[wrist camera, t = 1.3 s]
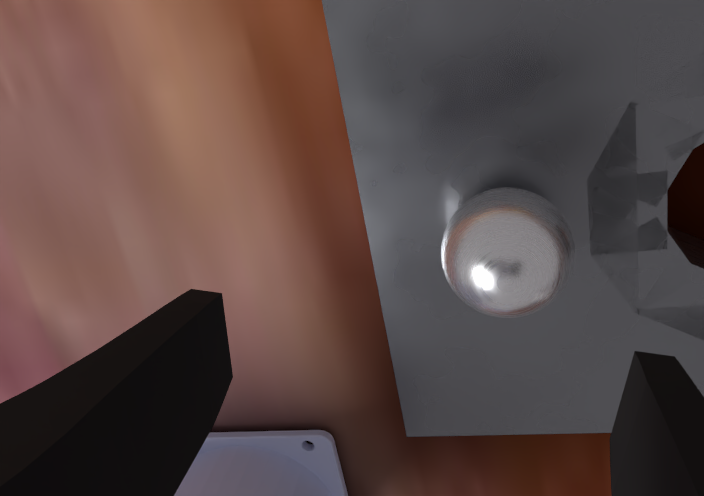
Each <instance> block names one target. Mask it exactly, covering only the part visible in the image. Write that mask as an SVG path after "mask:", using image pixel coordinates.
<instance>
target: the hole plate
mask: <svg viewBox="0 0 704 496" xmlns="http://www.w3.org/2000/svg"><path fill="white" fill-rule="evenodd" d="M322 4H323V9H324V14H325V19H326V24H327V29H328V34H329V40H330V45H331V50H332V55H333V60H334V65H335V70H336V76H337V81H338V86H339V91H340V96H341V101H342V106H343V112H344V117H345V122H346V127H347V132H348V137H349V142H350V148H351V153H352V158H353V163H354V168H355V173H356V178H357V183H358V189H359V194H360V199H361V204H362V209H363V214H364V219H365V225H366V230H367V235H368V240H369V245H370V250H371V255H372V261H373V266H374V271H375V276H376V281H377V286H378V291H379V297H380V302H381V307H382V312H383V317H384V322H385V327H386V333H387V338H388V343H389V348H390V353H391V358H392V363H393V369H394V374H395V379H396V384H397V389H398V394H399V399H400V404H401V410H402V415H403V420H404V425H405V430H406V435H407V437H422V436H472V435H521V434H571V433H612V429H613V426H614V422H615V418H616V415H617V411H618V408H619V404H620V401H621V397H622V394H623V390H624V387H625V383H626V380H627V376H628V373H629V369H630V366H631V362H632V359H633V355H634V352H635V351H639V352H647V353H654V354H661V355H668V356H675V357H676V359H677V360H678V361H679V363H680V364H681V365H682V367H683V368H684V369H685V371H686V372H687V374H688V375H689V377H690V378H691V379H692V381H693V382H694V384H695V385H696V386H697V388H698V389H699V391H700V392H701V394H702V395H703V396H704V240H701V239H699V238H696V237H694V236H691V235H689V234H686V233H684V232H681V231H679V230H676V229H674V228H671V227H669V225H668V224H667V190H668V188H669V187H670V185H671V183H672V182H673V180H674V179H675V177H676V176H677V174H678V172H679V171H680V169H681V168H682V166H683V164H684V163H685V161H686V160H687V158H688V156H689V155H690V153H691V152H692V150H693V149H694V148H696V147H698V146H699V145H701V144H702V143H704V0H322ZM504 187H511V188H520V189H525V190H528V191H531V192H534V193H536V194H538V195H540V196H542V197H544V198H545V199H547V200H548V201H549V202H551V203H552V204H553V205H554V206H555V207H556V208H557V209H558V210H559V211H560V212H561V214H562V215H563V216H564V218H565V219H566V221H567V223H568V225H569V227H570V230H571V232H572V236H573V239H574V247H575V260H574V265H573V270H572V273H571V276H570V278H569V280H568V282H567V284H566V286H565V287H564V289H563V290H562V292H561V293H560V294H559V295H558V297H557V298H556V299H555V300H553V301H552V302H551V303H550V304H549V305H547V306H546V307H544V308H543V309H541V310H539V311H537V312H535V313H532V314H529V315H526V316H522V317H516V318H500V317H494V316H489V315H487V314H484V313H481V312H479V311H477V310H475V309H473V308H472V307H470V306H469V305H467V304H466V303H465V302H463V301H462V300H461V299H460V298H459V297H458V296H457V295H456V293H455V292H454V291H453V289H452V288H451V286H450V285H449V283H448V281H447V279H446V276H445V274H444V271H443V267H442V262H441V243H442V238H443V234H444V232H445V229H446V226H447V224H448V222H449V221H450V219H451V217H452V216H453V215H454V213H455V212H456V211H457V209H458V208H459V207H460V206H461V205H462V204H464V203H465V202H466V201H467V200H469V199H470V198H472V197H474V196H475V195H477V194H480V193H482V192H484V191H488V190H491V189H496V188H504Z"/></svg>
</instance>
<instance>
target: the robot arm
mask: <svg viewBox="0 0 704 496" xmlns="http://www.w3.org/2000/svg"><path fill="white" fill-rule="evenodd" d="M232 378H233V374H232V367H231V359H230V352H229V344H228V336H227V329H226V321H225V314H224V306H223V299H222V293H216V292H209V291H202V290H195V289H191V290H189V291H187V292H186V293H184V294H182V295H181V296H179V297H177V298H176V299H174V300H173V301H171V302H170V303H168V304H167V305H165V306H163V307H162V308H160V309H159V310H157V311H156V312H154V313H153V314H151V315H150V316H148V317H147V318H145V319H144V320H142V321H141V322H139V323H138V324H136V325H135V326H133V327H132V328H130V329H129V330H127V331H126V332H124V333H122V334H121V335H119V336H118V337H116V338H115V339H113V340H112V341H110V342H109V343H107V344H106V345H104V346H102V347H101V348H99V349H98V350H96V351H94V352H93V353H91V354H89V355H88V356H86V357H84V358H83V359H81V360H79V361H77V362H76V363H74V364H72V365H71V366H69V367H67V368H66V369H64V370H62V371H61V372H59V373H57V374H56V375H54V376H52V377H50V378H49V379H47V380H45V381H43V382H42V383H40V384H38V385H36V386H34V387H32V388H30V389H28V390H27V391H25V392H23V393H21V394H19V395H17V396H15V397H13V398H11V399H9V400H7V401H5V402H3V403H1V404H0V496H348V493H347V489H346V485H345V481H344V477H343V473H342V469H341V465H340V461H339V457H338V453H337V449H336V445H335V441H334V438H333V436H332V435H331V434H330V433H329V432H326V431H324V430H295V431H253V432H210V431H211V429H212V427H213V425H214V423H215V420H216V418H217V416H218V413H219V411H220V408H221V406H222V404H223V401H224V398H225V396H226V393H227V391H228V388H229V385H230V383H231V380H232ZM209 432H210V433H209ZM305 441H310V442H312V443H313V444H308V443H307V442H305ZM610 467H611V490H612V496H704V396H703V395H702V394H701V392H700V391H699V389H698V388H697V386H696V385H695V384H694V382H693V381H692V379H691V378H690V377H689V375H688V374H687V372H686V371H685V369H684V368H683V367H682V365H681V364H680V363H679V361H678V360H677V359H676V357H675V356H668V355H661V354H654V353H647V352H639V351H635V352H634V355H633V359H632V362H631V366H630V369H629V373H628V376H627V380H626V383H625V387H624V390H623V394H622V397H621V401H620V404H619V408H618V411H617V415H616V418H615V422H614V426H613V429H612V433H611V436H610Z"/></svg>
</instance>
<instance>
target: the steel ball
mask: <svg viewBox="0 0 704 496" xmlns="http://www.w3.org/2000/svg"><path fill="white" fill-rule="evenodd" d="M574 260H575V247H574V239H573V236H572V232H571V230H570V227H569V225H568V223H567V221H566V219H565V218H564V216H563V215H562V214H561V212H560V211H559V210H558V209H557V208H556V207H555V206H554V205H553V204H552V203H551V202H549V201H548V200H547V199H545V198H544V197H542V196H540V195H538V194H536V193H534V192H531V191H528V190H525V189H520V188H511V187H504V188H496V189H491V190H488V191H484V192H482V193H480V194H477V195H475V196H474V197H472V198H470V199H469V200H467V201H466V202H465V203H464V204H462V205H461V206H460V207H459V208H458V209H457V211H456V212H455V213H454V215H453V216H452V217H451V219H450V221H449V222H448V224H447V226H446V229H445V232H444V234H443V238H442V243H441V262H442V267H443V271H444V274H445V276H446V279H447V281H448V283H449V285H450V286H451V288H452V289H453V291H454V292H455V293H456V295H457V296H458V297H459V298H460V299H461V300H462V301H463V302H465V303H466V304H467V305H469V306H470V307H472V308H473V309H475V310H477V311H479V312H481V313H484V314H487V315H489V316H494V317H500V318H516V317H522V316H526V315H529V314H532V313H535V312H537V311H539V310H541V309H543V308H544V307H546V306H547V305H549V304H550V303H551V302H552V301H553V300H555V299H556V298H557V297H558V295H559V294H560V293H561V292H562V290H563V289H564V287H565V286H566V284H567V282H568V280H569V278H570V276H571V273H572V270H573V265H574Z"/></svg>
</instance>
